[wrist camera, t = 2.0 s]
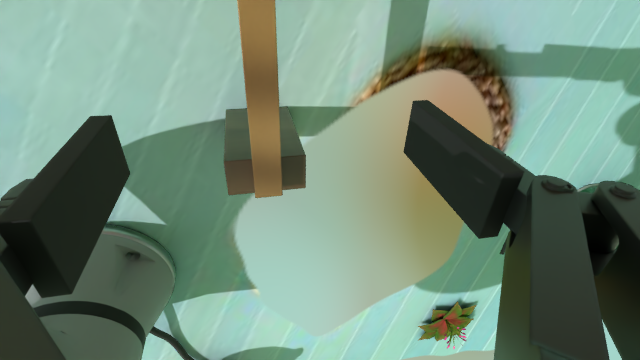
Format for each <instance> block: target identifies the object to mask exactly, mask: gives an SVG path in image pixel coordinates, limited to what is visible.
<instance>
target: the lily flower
mask: <svg viewBox="0 0 640 360" xmlns="http://www.w3.org/2000/svg"><path fill="white" fill-rule="evenodd" d="M474 307H476V305H474V306H471V307H468V308H464V309H461V307H460V305H458V301H457V303H456V304H455V305H454V307H453V308H452V309H451V310H450V312H449V311H442V310H433V313H432V314H433V315H432V318H431V321H432V322H433V323H432V324H428V325H423V326H418V327H420V328H421V329H424V331H425V333H424V334H423V335H422V337H421V338H420V339H419V340H422V339H430V338H432V337H434V336H435V339H436V340H437V341H438V340H441V339H444V340H446V339H447V337H449V336H450V340H449V341H450V342H451V338H452V336H453V335H456V334H457V335H458V336H459V337H460V338H461V337H463V338H466V337H465V336H461V335H460V332H461V331H462V330H466V329H465V327H466V326H467V325H468V324H469V323H470V322H471V320H473V319H470V318H467V316H469V315H470V314H471V313H472V312H473V310H474ZM463 328H464V329H463ZM461 333H462V332H461ZM462 334H464V335H466V334H465V333H462ZM454 338H455V337H454ZM454 338H453V342H454ZM456 338H458V337H457V336H456ZM461 339H462V338H461ZM463 340H464V341H466V340H465V339H463ZM449 341H448V342H447V344H448V343H449ZM449 345H450V343H449ZM449 345H448V347H449ZM462 346H463V345H462ZM448 347H447V348H448ZM454 348H455V347H454ZM454 348H453V349H454Z"/></svg>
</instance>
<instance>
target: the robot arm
mask: <svg viewBox="0 0 640 360" xmlns="http://www.w3.org/2000/svg"><path fill="white" fill-rule="evenodd" d="M404 153H405V154H406V155H407V157H408V158H409V159H410V160H411V161H412V162H413V164H414V165H415V166H416V167H417V168H418V169H419V170H420V172H421V173H422V174H423V175H424V176H425V177H426V178H427V180H428V181H429V182H430V183H431V184H432V185H433V187H434V188H435V189H436V190H437V191H438V192H439V193H440V194H441V196H442V197H443V198H444V199H445V200H446V201H447V202H448V204H449V205H450V206H451V207H452V208H453V210H454V211H456V213H457V214H458V215H459V216H460V217H461V219H462V220H463V221H464V222H465V223H466V224H467V226H468V227H469V228H470V229H471V230H472V231H473V233H474V234H475V235H476V236H477V237H478V238H479V239H480V238H488V237H495V236H498V234H499V232H500V229H501V227H502V224H503V223H504V224H505V225H506V226H507V227H508V228H509V229H510V232H509V234H508V236H507V238H506V241H505V243H504V245H503V248H502V250H501V252H500V254H504V252H505V259H504V268H503V277H502V287H501V296H500V306H499V315H498V324H497V334H496V343H495V353H494V360H609V354H608V350H607V344H606V339H605V333H604V329H603V323H602V320H603V322H604V324H605V326H606V328H607V330H608V332H609V334H610V336H611V338H612V340H613V342H614V344H615V346H616V348H617V350H618V352H619V354H620V356H621V358H622V360H640V190H638V189H636V188H634V187H633V186H631V185H629V184H627V185H626V183H623V182H620V183H619V182H615V181H603V182H600V183H599V185H598V186H597V188H596V190H595V192H594V193H587V192H578V191H577V190H576V188H575V187H574V186H573V185H572V184H570V183H569V182H567V181H565V180H563V179H560V178H556V177H553V176H547V175H538V176H535V175H534V174H532V173H531V172H529V171H528V170H527V169H525V168H524V167H523V166H521V165H520V164H518V163H517V162H516V161H514V160H513V159H512V158H510V157H509V156H506V154H505V153H503V152H502V151H501V150H499V149H498V148H496V147H493V146H491V145H489V144H486V143H485V142H484V141H482V140H481V139H480V138H478V137H477V136H476V135H474V134H473V133H471V132H470V131H469V130H467V129H466V128H465V127H463V126H462V125H461V124H459V123H458V122H457V121H455V120H454V119H453V118H451V117H450V116H448V115H447V114H446V113H444V112H443V111H442V110H440V109H439V108H438V107H436V106H435V105H434V104H432V103H431V102H430V101H428V100H425V101H424V100H422V101H413V104H412V109H411V115H410V120H409V126H408V131H407V136H406V142H405V147H404ZM129 175H130V171H129V168H128V165H127V162H126V159H125V156H124V153H123V150H122V147H121V144H120V141H119V137H118V134H117V131H116V128H115V125H114V122H113V119H112V116H111V115H109V116H90V117H89V118H88V119H87V121H86V122H85V123H84V124H83V125H82V126H81V127H80V128H79V129H78V130H77V132H76V133H75V134H74V135H73V136H72V137H71V138H70V139H69V140H68V141H67V143H66V144H65V145H64V146H63V147H62V148H61V149H60V150H59V151H58V152H57V154H56V155H55V156H54V157H53V158H52V159H51V160H50V161H49V162H48V163H47V165H46V166H45V167H44V168H43V169H42V170H41V171H40V172H39V173H38V174H37V176H36V177H35V178H34V179H26V180H24V181H23V182H21V183H19V184H18V185H16V186H14V187H13V188H11V189H10V190H9V191H8V192H7V193H6V194H5V195H4V196H3V197H2V198H1V201H0V360H141V359H142V353H143V349H144V344H145V340H146V337H147V335H148V334H149V332H150V333H151V334H153V335H155V336H157V337H160V338H162V339H164V340H166V341H167V342H169V343H170V344H171V345H172V346H173V347H174V348H175V349H176V350H177V352H178V353H179V354H180V356H181V357H182V358H183V359H184V360H194V359H193V358H192V357H191V356H189V355H188V353H187V352H186V351H185V350H184V349H183V347H182V346H181V345H180V343H179V342H178V341H177V340H176V339H175V338H173V337H172V336H171V335H169V334H167V333H165V332H163V331H161V330H159V329H157V328H155V327H154V324H155V322H156V321H157V319H158V318H159V316H160V314H161V313H162V311H163V309H164V308H165V306H166V305H167V303H168V301H169V299H170V297H171V295H172V292H173V289H174V284H175V279H176V269H175V265H174V262H173V260H172V258H171V256H170V255H169V253H168V252H167V251H166V250H165V249H164V248H163V247H162V246H161V245H160V244H159V243H157V242H156V241H155V240H153V239H151V238H150V237H148V236H146V235H144V234H142V233H139V232H137V231H134V230H131V229H127V228H124V227H119V226H113V225H106V222H107V220H108V218H109V216H110V214H111V212H112V210H113V208H114V206H115V204H116V202H117V200H118V198H119V196H120V194H121V191H122V189H123V187H124V185H125V183H126V181H127V179H128V177H129ZM618 244H619V245H618ZM617 246H618V248H617V250H616V247H617Z"/></svg>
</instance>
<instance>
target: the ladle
mask: <svg viewBox="0 0 640 360" xmlns="http://www.w3.org/2000/svg"><path fill="white" fill-rule="evenodd" d="M237 3H238V14H239V25H240V36H241V47H242V57H243V68H244V79H245V90H246V101H247V112H248V123H249V133H250V144H251V155H252V166H253V177H254V188H255V198H261V197H271V196H281V195H283V194H282V168H281V142H280V116H279V90H278V64H277V38H276V12H275V0H237Z"/></svg>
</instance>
